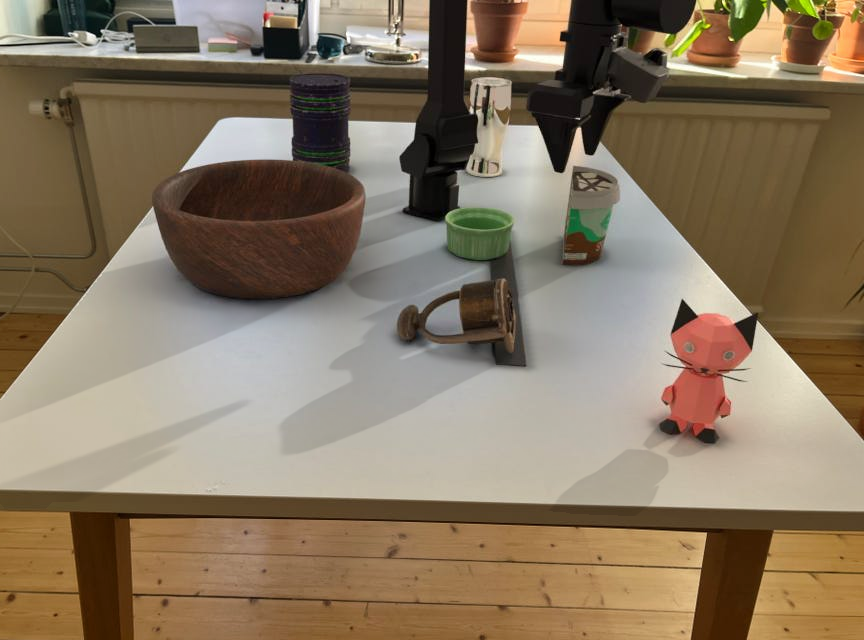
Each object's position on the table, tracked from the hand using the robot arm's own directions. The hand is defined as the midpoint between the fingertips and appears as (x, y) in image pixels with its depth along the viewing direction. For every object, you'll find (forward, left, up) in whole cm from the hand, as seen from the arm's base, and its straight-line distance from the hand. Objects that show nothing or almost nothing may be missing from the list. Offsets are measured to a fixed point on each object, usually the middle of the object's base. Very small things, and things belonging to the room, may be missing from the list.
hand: (574, 163), depth 97 cm
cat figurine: (+25, -26, -14) cm, 38 cm away
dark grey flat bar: (-3, -9, -14) cm, 17 cm away
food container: (+1, +7, -14) cm, 16 cm away
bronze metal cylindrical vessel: (0, -24, -14) cm, 28 cm away
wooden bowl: (-29, -23, -14) cm, 40 cm away
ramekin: (-11, -1, -14) cm, 18 cm away
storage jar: (-50, +14, -14) cm, 54 cm away
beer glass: (-28, +31, -14) cm, 44 cm away
